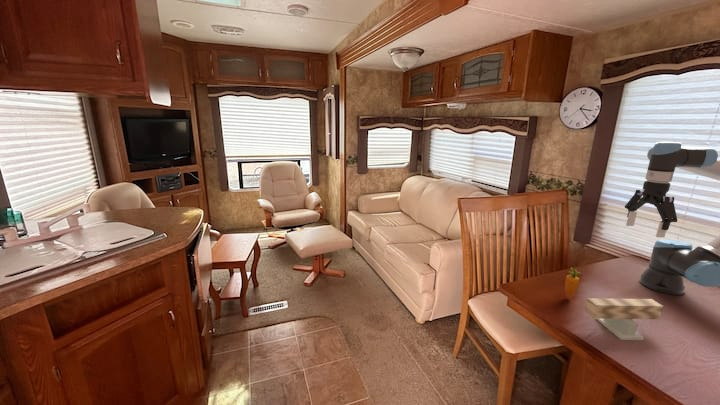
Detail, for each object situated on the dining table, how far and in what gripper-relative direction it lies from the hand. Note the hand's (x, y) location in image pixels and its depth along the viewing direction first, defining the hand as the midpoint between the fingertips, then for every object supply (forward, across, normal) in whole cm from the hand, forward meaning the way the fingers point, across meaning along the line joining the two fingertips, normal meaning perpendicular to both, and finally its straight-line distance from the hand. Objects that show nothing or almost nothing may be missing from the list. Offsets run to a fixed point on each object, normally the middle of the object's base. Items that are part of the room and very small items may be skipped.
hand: (644, 231), depth 122 cm
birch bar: (+26, +21, -21) cm, 39 cm away
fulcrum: (+32, +21, -21) cm, 43 cm away
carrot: (+32, +2, -27) cm, 42 cm away
